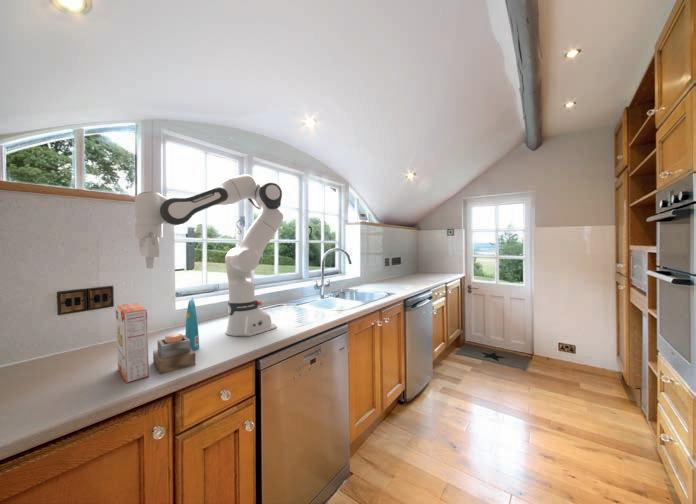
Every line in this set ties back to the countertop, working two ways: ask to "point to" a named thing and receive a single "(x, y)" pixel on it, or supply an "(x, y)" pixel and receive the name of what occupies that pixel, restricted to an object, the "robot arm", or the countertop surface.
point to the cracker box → (132, 341)
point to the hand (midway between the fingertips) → (149, 268)
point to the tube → (192, 326)
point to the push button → (173, 338)
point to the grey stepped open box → (173, 355)
